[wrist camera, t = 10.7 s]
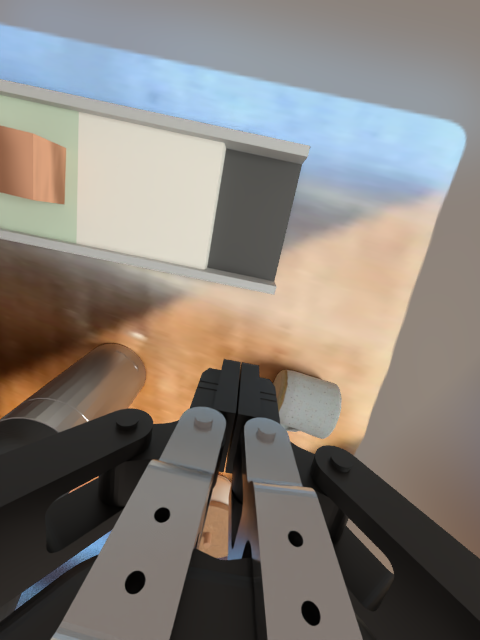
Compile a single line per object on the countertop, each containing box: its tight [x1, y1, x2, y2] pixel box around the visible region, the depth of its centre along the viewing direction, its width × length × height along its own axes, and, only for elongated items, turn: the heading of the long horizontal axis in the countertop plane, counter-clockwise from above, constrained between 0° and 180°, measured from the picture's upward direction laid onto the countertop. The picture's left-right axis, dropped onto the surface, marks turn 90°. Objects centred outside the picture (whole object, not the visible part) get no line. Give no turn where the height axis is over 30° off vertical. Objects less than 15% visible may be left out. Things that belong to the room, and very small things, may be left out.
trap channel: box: [0, 79, 310, 294], centre depth 33 cm, size 44×16×4 cm, turn 79°
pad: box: [0, 95, 79, 243], centre depth 34 cm, size 10×14×2 cm
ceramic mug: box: [273, 370, 341, 439], centre depth 39 cm, size 11×8×8 cm
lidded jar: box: [199, 475, 231, 558], centre depth 44 cm, size 11×11×9 cm
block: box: [0, 126, 66, 205], centre depth 30 cm, size 6×6×5 cm
